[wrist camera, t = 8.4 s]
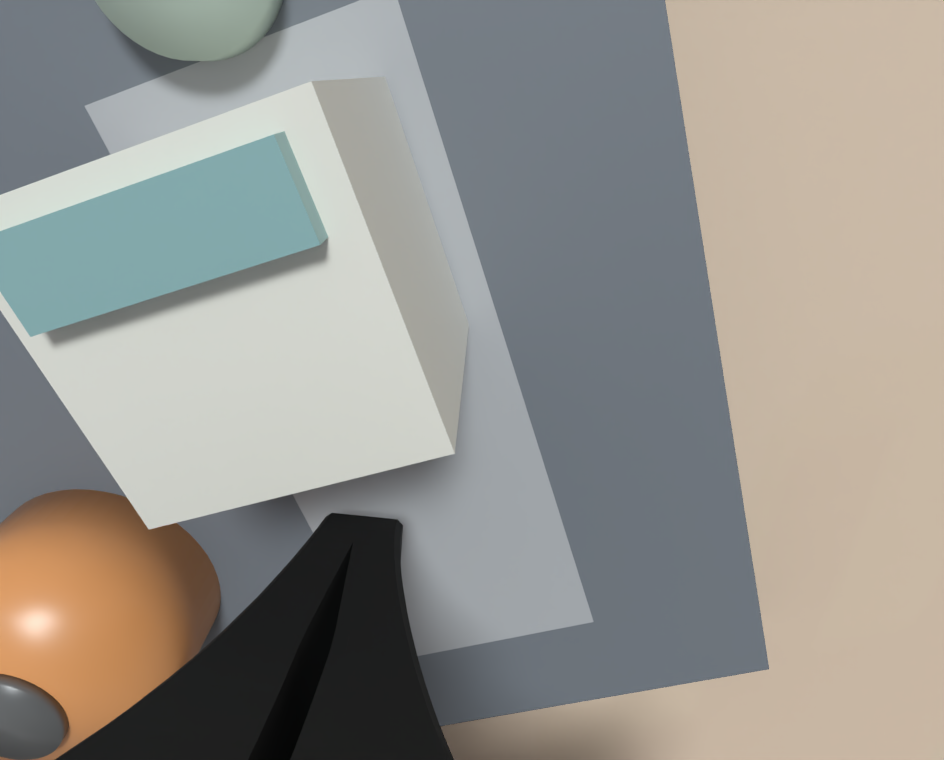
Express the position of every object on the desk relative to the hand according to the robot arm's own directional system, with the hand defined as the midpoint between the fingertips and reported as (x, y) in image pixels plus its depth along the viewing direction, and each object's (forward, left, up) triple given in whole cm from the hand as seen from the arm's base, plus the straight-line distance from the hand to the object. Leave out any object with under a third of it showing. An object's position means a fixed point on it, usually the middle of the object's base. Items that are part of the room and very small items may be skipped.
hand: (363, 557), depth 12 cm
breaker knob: (-5, +1, -1) cm, 6 cm away
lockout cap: (0, -6, -1) cm, 6 cm away
